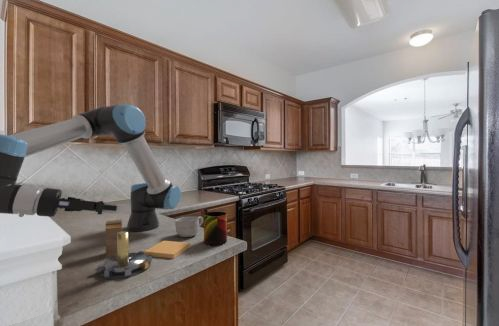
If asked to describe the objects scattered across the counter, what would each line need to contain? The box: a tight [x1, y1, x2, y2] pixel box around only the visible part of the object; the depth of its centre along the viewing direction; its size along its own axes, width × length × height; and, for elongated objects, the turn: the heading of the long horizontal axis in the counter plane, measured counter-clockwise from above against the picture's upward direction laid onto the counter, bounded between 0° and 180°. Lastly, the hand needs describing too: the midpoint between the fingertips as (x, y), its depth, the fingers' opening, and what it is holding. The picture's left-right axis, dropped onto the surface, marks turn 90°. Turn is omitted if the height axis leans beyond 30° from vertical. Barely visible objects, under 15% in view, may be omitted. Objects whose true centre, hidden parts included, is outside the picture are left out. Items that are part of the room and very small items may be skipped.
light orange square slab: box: [143, 240, 191, 259], centre depth 90 cm, size 12×12×2 cm
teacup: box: [174, 215, 204, 238], centre depth 110 cm, size 14×11×8 cm
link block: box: [105, 219, 123, 258], centre depth 87 cm, size 5×5×12 cm
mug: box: [203, 211, 228, 247], centre depth 102 cm, size 10×14×12 cm
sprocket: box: [97, 230, 153, 277], centre depth 75 cm, size 15×15×12 cm
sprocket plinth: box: [99, 262, 151, 280], centre depth 75 cm, size 14×14×1 cm
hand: (126, 209), depth 74 cm, fingers open, 13 cm apart
